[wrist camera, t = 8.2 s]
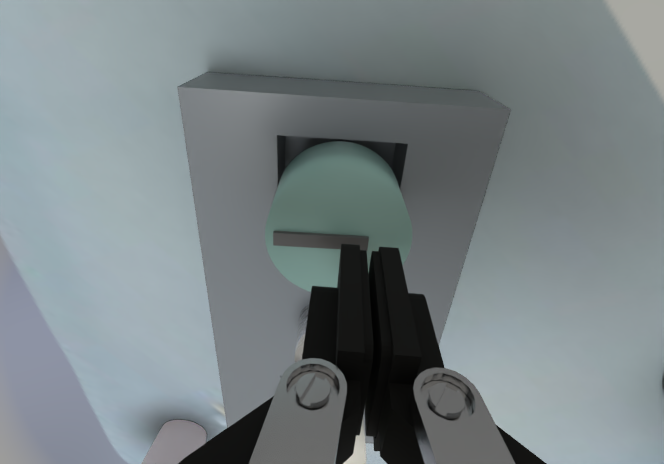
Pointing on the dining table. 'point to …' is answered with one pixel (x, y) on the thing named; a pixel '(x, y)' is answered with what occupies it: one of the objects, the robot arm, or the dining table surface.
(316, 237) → the knob
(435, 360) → the robot arm
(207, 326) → the dining table surface
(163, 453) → the smoothie
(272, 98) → the mount
